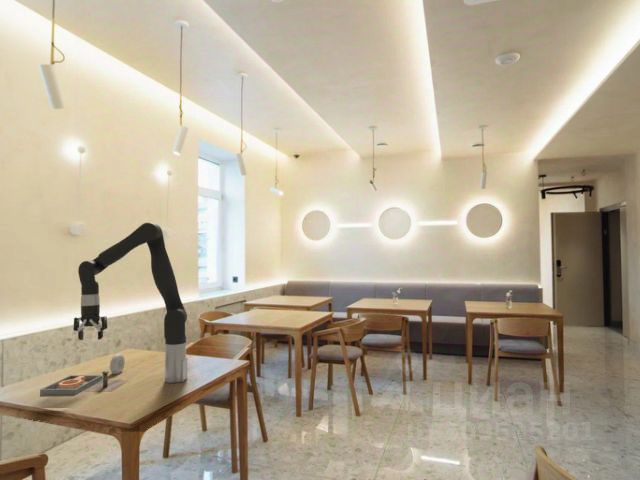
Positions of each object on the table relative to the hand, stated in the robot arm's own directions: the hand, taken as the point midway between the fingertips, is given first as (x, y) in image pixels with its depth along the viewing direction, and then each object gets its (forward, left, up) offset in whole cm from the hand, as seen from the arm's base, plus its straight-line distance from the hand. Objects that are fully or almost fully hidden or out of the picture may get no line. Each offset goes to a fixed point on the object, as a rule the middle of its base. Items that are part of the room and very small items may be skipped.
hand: (90, 339), depth 187 cm
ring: (+3, +8, -19) cm, 21 cm away
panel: (-12, +6, -20) cm, 24 cm away
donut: (-6, -14, -20) cm, 25 cm away
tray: (+3, +8, -20) cm, 22 cm away
